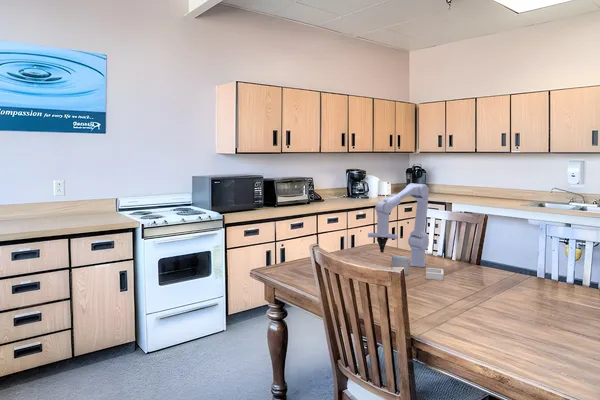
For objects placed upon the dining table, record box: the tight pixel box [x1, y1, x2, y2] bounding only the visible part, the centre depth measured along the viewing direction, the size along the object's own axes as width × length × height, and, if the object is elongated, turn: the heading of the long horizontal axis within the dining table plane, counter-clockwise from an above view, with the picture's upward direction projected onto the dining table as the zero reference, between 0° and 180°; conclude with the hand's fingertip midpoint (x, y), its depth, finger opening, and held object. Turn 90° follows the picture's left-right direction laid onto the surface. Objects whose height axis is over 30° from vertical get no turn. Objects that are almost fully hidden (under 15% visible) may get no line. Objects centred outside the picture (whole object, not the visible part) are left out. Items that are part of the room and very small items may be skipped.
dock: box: [425, 267, 445, 281], centre depth 204 cm, size 9×8×3 cm
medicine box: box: [391, 255, 410, 276], centre depth 209 cm, size 8×4×9 cm, turn 84°
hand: (382, 252), depth 211 cm, fingers closed
